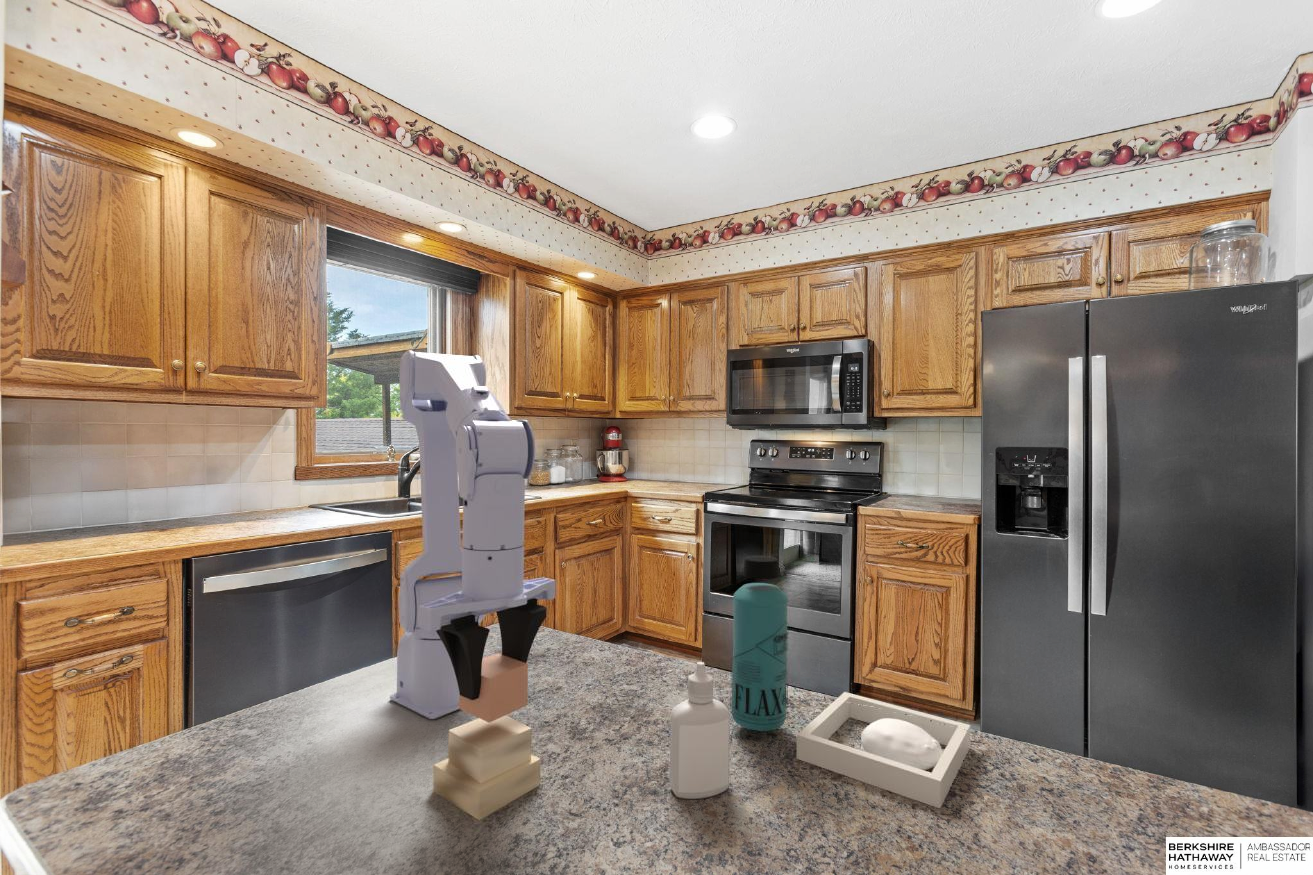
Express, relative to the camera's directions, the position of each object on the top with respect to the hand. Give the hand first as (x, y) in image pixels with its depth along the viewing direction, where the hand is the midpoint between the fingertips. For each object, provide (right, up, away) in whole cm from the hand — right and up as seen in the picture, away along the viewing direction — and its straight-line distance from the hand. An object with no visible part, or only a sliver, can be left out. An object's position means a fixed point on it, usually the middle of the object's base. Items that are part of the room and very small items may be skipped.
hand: (491, 687), depth 59 cm
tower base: (0, -10, 0) cm, 10 cm away
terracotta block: (0, -2, 0) cm, 2 cm away
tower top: (0, -7, 0) cm, 7 cm away
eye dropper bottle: (+20, -10, 0) cm, 22 cm away
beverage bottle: (+28, -10, +12) cm, 32 cm away
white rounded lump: (+42, -10, +6) cm, 43 cm away
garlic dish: (+40, -10, +7) cm, 42 cm away
